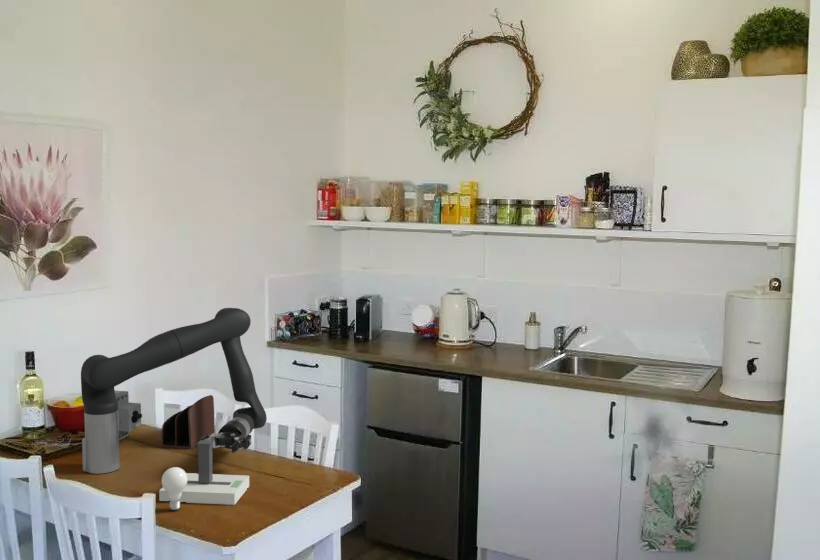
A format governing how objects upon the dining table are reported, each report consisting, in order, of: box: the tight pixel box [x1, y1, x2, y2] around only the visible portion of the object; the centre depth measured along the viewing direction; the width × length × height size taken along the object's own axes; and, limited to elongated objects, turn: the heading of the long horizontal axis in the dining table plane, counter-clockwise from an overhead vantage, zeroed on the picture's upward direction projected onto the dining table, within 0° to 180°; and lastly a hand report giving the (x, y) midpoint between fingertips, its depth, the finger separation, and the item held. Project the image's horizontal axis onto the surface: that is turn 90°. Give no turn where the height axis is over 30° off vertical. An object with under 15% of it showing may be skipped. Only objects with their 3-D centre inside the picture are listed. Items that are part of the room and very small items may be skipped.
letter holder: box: [161, 394, 216, 450], centre depth 268 cm, size 10×20×14 cm, turn 172°
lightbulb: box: [161, 466, 188, 511], centre depth 208 cm, size 6×6×11 cm
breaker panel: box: [158, 472, 250, 506], centre depth 220 cm, size 20×14×3 cm
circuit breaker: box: [114, 389, 143, 441], centre depth 269 cm, size 8×14×15 cm, turn 78°
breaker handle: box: [196, 440, 213, 483], centre depth 219 cm, size 3×3×11 cm
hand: (217, 448), depth 230 cm, fingers open, 8 cm apart
